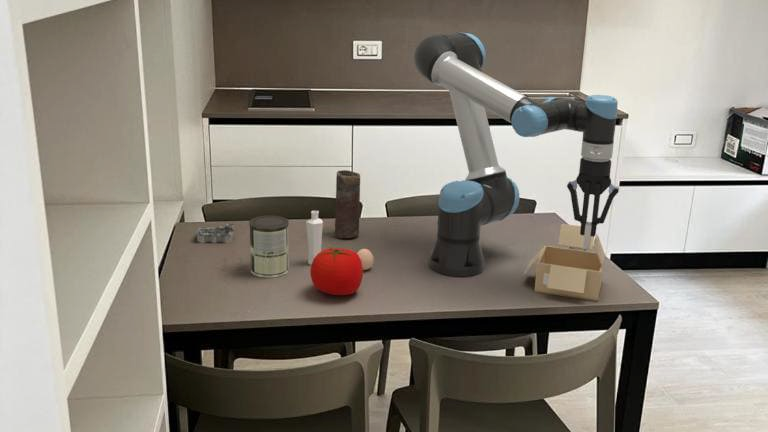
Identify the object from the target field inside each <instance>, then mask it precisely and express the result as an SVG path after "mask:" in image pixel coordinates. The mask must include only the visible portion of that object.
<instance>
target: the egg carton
mask: <svg viewBox="0 0 768 432" xmlns="http://www.w3.org/2000/svg"><path fill="white" fill-rule="evenodd" d="M234 233H235V231H234V223H225V224H222V225H221V226H219V225H218V226H216V227H212V226H211V227H206V228H205V227H204V228H203V227H198V228H197V230H196V237H197V238H196V239H197V240H196V241H198V243H200V244H205V243H212V244H216V243H219V242H220V241H222V243H224V242H225V243H224V244H228V243H230V241H231V242H233V240H234V239H233V238H234ZM232 237H233V238H232Z"/></svg>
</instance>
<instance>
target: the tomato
mask: <svg viewBox="0 0 768 432" xmlns="http://www.w3.org/2000/svg"><path fill="white" fill-rule="evenodd" d="M357 253H358V252H355V251H354V250H351V249H348V248H342V247H341V248H340V247H328V248H325V249H322V250H321V252H320V253H318V254H317V255H316V257H315V258H314V260H313V262H312V265H310V277H311V282H312V284H313V286H314V287H315V288H316V289H317V290H319V291H320V292H322V293H324V294H329V295H334V296H347V295H351V294H353V293H355V292H357V290H359V288H360V286H361V283H362V281H363V276H364V270H363V268H362V263H361V259H360V257H359V255H358V254H357Z"/></svg>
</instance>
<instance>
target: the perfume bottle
mask: <svg viewBox="0 0 768 432" xmlns="http://www.w3.org/2000/svg"><path fill="white" fill-rule="evenodd" d="M319 212H320V211H319V210H312V211H310V213H311V215H310V216H311V218H310V219H308V220H306V222H305V224H306V235H307V237H306V238H307V247H308V248H307V249H308V261H307V264H308V265H310V266H311V265H312V262H313V260H314V258H315V257H316V255H317V254H318V253H320V252H321V251H322V241H323V240H322V237H323V228H324V227H323V226H324V221H323V220H322V219H321V218H319Z"/></svg>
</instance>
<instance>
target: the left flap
mask: <svg viewBox="0 0 768 432" xmlns="http://www.w3.org/2000/svg"><path fill="white" fill-rule="evenodd" d="M543 249H544V247H542V248H541V249H540V250H539V251H538V252H537V253H536V255H535V256H534V257H533V258H532V259H531V260H530V261H529V262H528V264H527V266H526V269H525V271H524V272H523V275H524V276H525V275H526V274H528V273H529V271H530V270H531V269H532V267H534V265H535V264H537V262H538V260H539V258H540V255H541V253H542V251H543Z"/></svg>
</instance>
